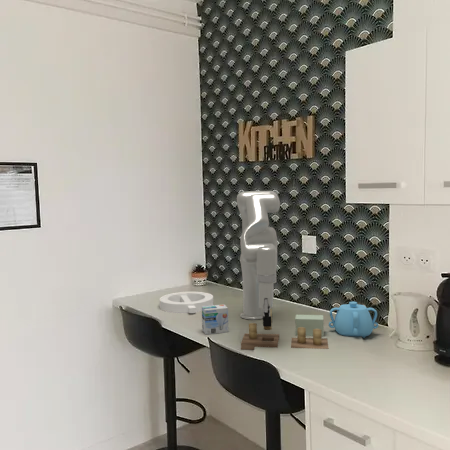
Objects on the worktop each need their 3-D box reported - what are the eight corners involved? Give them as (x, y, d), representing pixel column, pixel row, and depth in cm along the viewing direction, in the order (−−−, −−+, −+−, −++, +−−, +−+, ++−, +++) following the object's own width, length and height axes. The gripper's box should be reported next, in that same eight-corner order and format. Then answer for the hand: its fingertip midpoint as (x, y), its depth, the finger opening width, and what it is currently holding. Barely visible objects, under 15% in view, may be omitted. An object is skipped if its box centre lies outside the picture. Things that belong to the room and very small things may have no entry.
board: (291, 340, 197) (291, 324, 196) (327, 341, 195) (327, 324, 194) (290, 350, 185) (290, 333, 184) (328, 351, 183) (328, 334, 182)
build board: (244, 339, 200) (244, 320, 199) (279, 340, 198) (278, 320, 197) (241, 349, 188) (240, 329, 187) (277, 350, 186) (277, 329, 185)
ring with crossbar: (193, 316, 238) (193, 306, 237) (148, 309, 252) (148, 300, 252) (223, 303, 262) (223, 294, 261) (181, 298, 276) (180, 289, 276)
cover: (296, 333, 206) (295, 314, 205) (323, 333, 204) (323, 315, 203) (295, 338, 200) (295, 319, 199) (323, 339, 198) (323, 319, 197)
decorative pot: (353, 343, 192) (353, 309, 190) (325, 333, 205) (324, 301, 204) (382, 336, 200) (382, 303, 198) (353, 326, 214) (353, 295, 212)
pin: (264, 327, 193) (263, 307, 192) (272, 327, 192) (271, 307, 192) (263, 329, 190) (262, 309, 189) (271, 330, 189) (271, 309, 188)
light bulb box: (205, 334, 207) (204, 309, 206) (201, 330, 214) (200, 306, 213) (229, 332, 210) (228, 307, 209) (225, 327, 217) (224, 303, 216)
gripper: (258, 274, 198) (259, 318, 200) (254, 282, 182) (255, 331, 183) (277, 274, 197) (278, 319, 198) (275, 282, 181) (276, 331, 182)
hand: (267, 324), depth 191 cm, fingers closed on pin, 3 cm apart
